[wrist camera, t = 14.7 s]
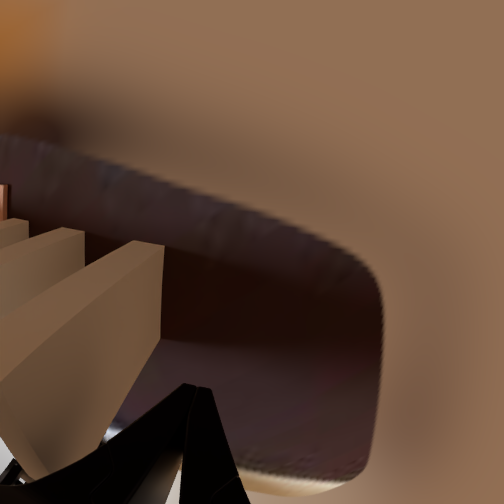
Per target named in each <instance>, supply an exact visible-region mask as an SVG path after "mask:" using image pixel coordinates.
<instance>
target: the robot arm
mask: <svg viewBox="0 0 504 504" xmlns="http://www.w3.org/2000/svg"><path fill="white" fill-rule="evenodd" d="M182 459H183V460H182ZM181 462H182V471H181V484H180V498H179V504H251V503H250V501H249V499H248V497H247V494H246V492H245V490H244V487H243V484H242V482H241V479H240V477H239V474H238V471H237V468H236V465H235V463H234V460H233V457H232V454H231V451H230V448H229V445H228V442H227V439H226V436H225V433H224V429H223V426H222V423H221V420H220V417H219V413H218V410H217V407H216V403H215V400H214V396H213V393H212V390H211V389H210V388H205V387H200V386H199V387H196V386H195V385H191V384H186V383H183V384H181V385H180V386H179V387H178V388H176V389H175V390H174V391H173V392H171V393H170V394H169V395H168V396H166V397H165V398H164V399H163V400H161V401H160V402H159V403H158V404H156V405H155V406H154V407H152V408H151V409H150V410H149V411H147V412H146V413H145V414H143V415H142V416H141V417H139V418H138V419H137V420H135V421H134V422H133V423H132V424H130V425H129V426H128V427H126V428H125V429H123V430H122V431H121V432H119V433H118V434H117V435H115V436H114V437H113V438H111V439H110V440H108V441H107V444H106V443H104V444H103V445H100V444H99V446H98V447H97V449H96V450H94V451H93V452H91V453H90V454H88V455H86V456H85V457H83V458H82V459H80V460H78V461H76V462H74V463H72V464H70V465H68V466H66V467H64V468H62V469H60V470H58V471H56V472H53V473H51V474H49V475H47V476H44V477H42V478H40V479H38V480H34V479H33V478H31V477H30V476H28V474H27V473H26V472H25V471H24V469H23V468H22V467H21V465H20V464H19V463H18V461H17V460H16V459H14V458H13V459H12V461H11V462H10V463H9V465H8V466H7V468H6V469H5V470H4V471H3V473H2V474H1V475H0V504H165V503H166V500H167V497H168V495H169V492H170V490H171V487H172V485H173V482H174V479H175V477H176V474H177V472H178V469H179V467H180V464H181ZM20 477H21V478H22V479H23V480H24V481H26V482H25V483H24V484H23V483H22V482H21V481H19V479H20Z"/></svg>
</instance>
